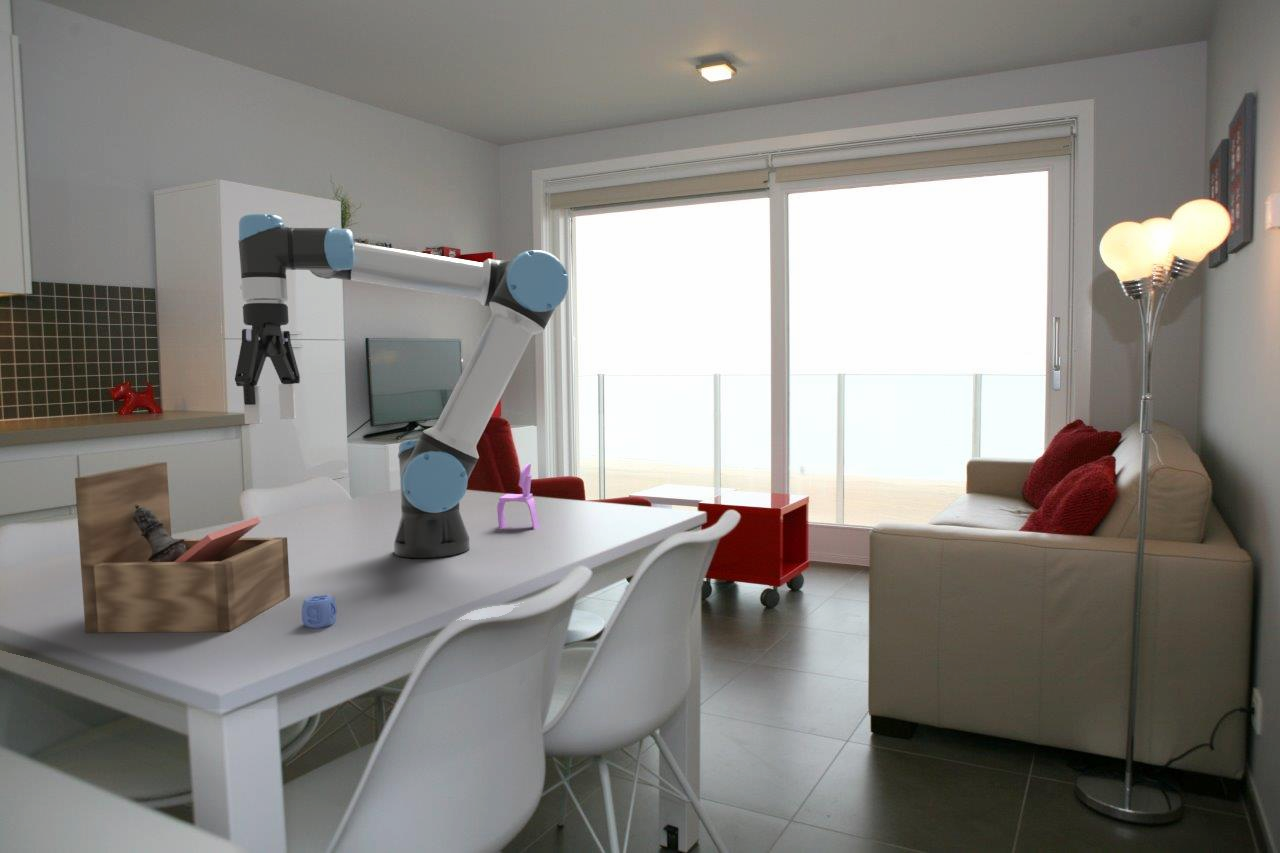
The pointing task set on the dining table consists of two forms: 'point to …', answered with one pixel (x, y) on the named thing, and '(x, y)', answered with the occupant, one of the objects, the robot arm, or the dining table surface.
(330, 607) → the decorative dice
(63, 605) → the dining table surface
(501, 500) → the toy chair
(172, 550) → the salt shaker
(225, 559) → the wooden box
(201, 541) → the trapdoor
